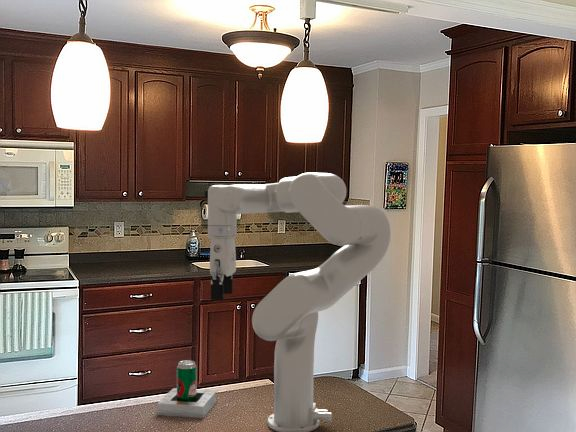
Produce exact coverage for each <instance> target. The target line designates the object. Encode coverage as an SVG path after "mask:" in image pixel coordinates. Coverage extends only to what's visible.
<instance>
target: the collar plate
mask: <svg viewBox="0 0 576 432" xmlns="http://www.w3.org/2000/svg"><path fill="white" fill-rule="evenodd" d="M216 403H217V390H212V389H211V390H209V389H208V390H207V389H197V402H184V401H177V387H173V388H172V389H171V390H169V391H168V392H167V393H166V394H165V396H163V397H162V398H161V399H160V400H159V401H158V402H157V403H156V405H157V408H156V409H157V410H156V411H157V412H156V413H157V414H156V416H161V417H162V416H163V417H180V418H191V419H192V418H195V419H204V418H205V417H206V416H207V415H208V413H209V412H210V411H211V410H212V408H213V407H214V405H215V404H216Z"/></svg>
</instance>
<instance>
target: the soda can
mask: <svg viewBox="0 0 576 432" xmlns="http://www.w3.org/2000/svg"><path fill="white" fill-rule="evenodd" d="M177 363H178V364H177V366H176V388H177V401H184V402H197V390H198V389H197V385H198V383H197V382H198V380H197V379H198V377H197V376H198V374H197V373H198V372H197V368H198V367H197V364H196V361H195V360H191V359H190V360H189V359H187V360H185V359H184V360H180V361H178V362H177Z"/></svg>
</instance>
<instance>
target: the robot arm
mask: <svg viewBox="0 0 576 432" xmlns="http://www.w3.org/2000/svg"><path fill="white" fill-rule="evenodd" d="M346 197H347V186H346V184H345V182H344V180H343V179H342V178H341V177H339V176H338V175H337V174H333V173H330V172H329V173H328V172H304V173H301V174H299V175H297V176H296V175H295V176H288V177H283V178H281V179H280V180H279V182H274V183H265V184H261V183H260V184H253V183H252V184H250V183H249V184H247V183H243V184H241V183H240V184H239V183H238V184H229V185H228V184H214V185H210V186H209V187H208V190H207V238H208V239H210V250H209V272H210V273H209V274H210V275H211V276H210V279H211V280H210V299H211V300H212V301H224V299H225V298H224V294H225V295H226V294H227V295H231V294H233V291H234V290H233V289H234V287H233V285H234V284H233V282H234V280H233V278H234V277H233V276H234V275H233V274H234V273H236V272H237V261H236V260H237V254H236V240H235V239H236V238H237V234H238V233H237V230H238V228H237V221H238V219H237V218H238V217H237V216H238V215H248V214H265V213H266V214H267V213H280V212H283V213H286V214H289V213H300V215H301V216H302V217H303V218H304V219H305V220H306V221H307V222H308V223H309V224H310V225H311V226H312V227H313V228H314V229H315V230H316V231H317V232H318V233H319V234H320V235H321V236H322V237H323V238H324V239H325V240H326V241H327V242H329V243H331V244H333V245H337V246H342V247H340V248H339V249H337V250H336V251H334V252H333V254H332V255H330V257H329V258H328V259H326V261H324V262H323V263H322V264H320V265H319V266H318V267H316V268H313V269H308V270H303V271H302V270H301V271H299V272H294V273H291V274H290V275H288V276H286V277H284V278H283V280H281V281H280V282H279V283H277V285H276V286H275V287H274V288H273V289H272V290H271V291H270V292H269V293H268V294H267V295H266V296H264V297H263V298H262V299H261V300H260V301H259V302H258V304H257V305H256V306H255V308H254V309H253V313H252V317H251V324H252V328H253V330H254V332H255V335H257V336H258V337H259V338H260V339H262V340H264V341H267V342H268V341H269V342H275V341H276V342H275V343H276V344H275V347H274V356H273V357H274V363H273V370H274V371H273V375H274V376H273V380H274V381H273V383H274V384H273V386H274V387H273V402H274V403H273V413H272V414H270V415H269V416H268V417H267V426H268V427H269V428H270V429H272V430H274V431H276V432H312V431H314V430H316V429H318V428H319V426H320V424H321V422H320V421H327V422H328V421H329V422H331V421H332V415H333V413H332V412H328V409H324V408H323V409H319V408H318V407H317V406H316V405H317V403H316V402H314V376H315V375H314V371H315V370H314V367H315V365H314V364H315V363H314V362H315V339H316V333H317V328H318V322H319V312H322V311H325V310H328V309H329V308H331V307H333V306H334V305H335V304H337V302H339V301H340V300H341V298H343V297H344V296H345V295H346V294H347V293H348V292H349V291H350V290H352V289H353V288H354V287H355V286H357V284H358V283H359V282H361V280H363V279H364V278H365V277H366V276H368V274H370V273H371V272H372V271H373V270H374V269H375V268H376V267H377V266H378V265H379V263H380V262H381V261H382V260H383V258H384V257H385V255H386V253H387V251H388V249H389V246H390V242H391V224H390V221H389V219H388V217H387V215H386V213H385V212H384V211H383V210H381V209H380V208H378V207H376V206H373V205H368V204H353V205H352V204H350V205H345V204H343V203H344V201H345V199H346Z"/></svg>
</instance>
